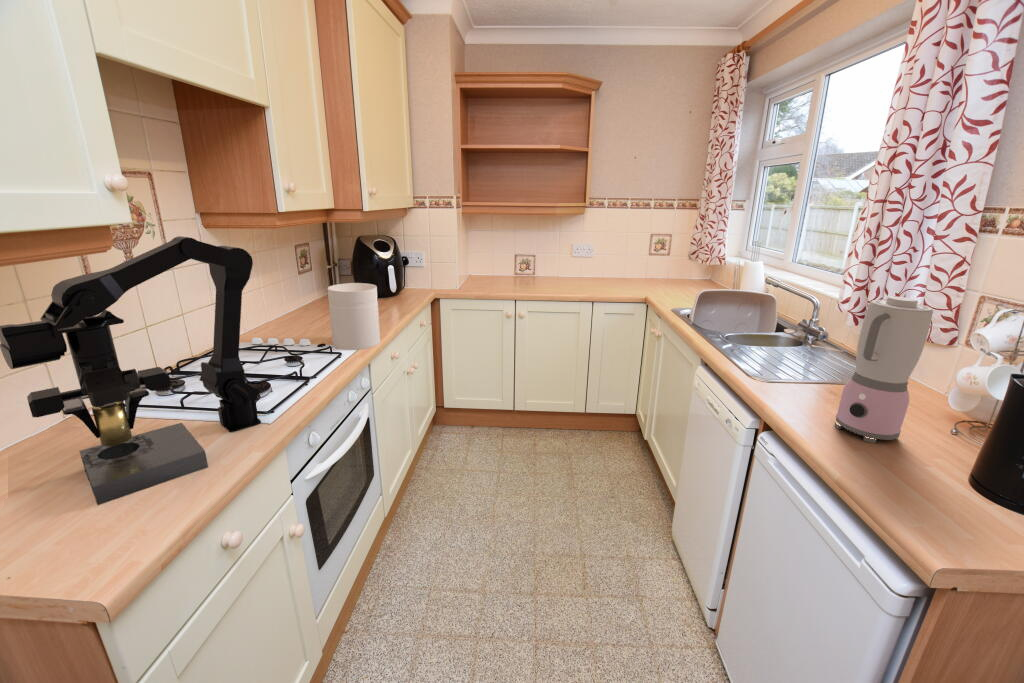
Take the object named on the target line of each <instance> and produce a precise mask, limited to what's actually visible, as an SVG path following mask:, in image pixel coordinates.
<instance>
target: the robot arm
mask: <svg viewBox="0 0 1024 683" xmlns="http://www.w3.org/2000/svg"><path fill="white" fill-rule="evenodd" d="M189 260H193V261H196V262H200V263H204V264H207V265H208V267H209V275H210V277H211V280H212V282H213V284H214V287H215V307H214V309H215V310H214V325H213V326H214V327H213V345H212V346H213V347H212V349H213V351H212V356H211V357H210V359H209V361H208V362H205V361H204V362H203V361H202V362H200V370H201V374H200V378H199V381H200V382H202V384H203V388H205V389H206V390H207V391H208V392H210V393H212V394H214V396H215V397H217V398H219V400H218V401H219V407H217V412H218V418H219V424H220V425H221V426H222V427H223V428H225V429H226V430H227V431H228V432H229V433H233V432H236V431H239V430H243V429H246V428H250V427H252V426H256V425H260V424H262V420H261V419H260V418H259V416H258V412H257V411H258V409H257V405H256V401H258V399H259V393H260V391H259V390H260V389H257V388H255V387H253V386H251V385H250V384H247V381H246V374H245V369H244V367H243V364H242V362H241V359H240V354H239V353H240V340H241V339H240V337H241V317H242V303H243V302H242V299H243V291H244V289H245V287H246V286H247V284H248V283H249V280H250V277H251V274H252V269H253V264H254V262H253V257H252V255H250V253H249V252H248V251H247V250H246V249H244V248H241V247H236V246H229V245H228V246H227V245H218V246H217V245H214V244H210V243H207V242H203V241H200V240H197V239H195V238H193V237H189V236H176V237H173V238H172V239H171V240H170V241H168V242H165V243H164V244H161V245H159V246H157V247H155V248H152V249H149V250H148V251H145V252H143V253H141V254H139V255H137V256H135V257H132V258H131V259H128V260H126V261H124V262H122V263H120V264H117V265H115V266H113V267H110V268H107V269H104V270H100V271H96V272H90V273H86V274H85V273H84V274H82V275H78V276H74V277H71V278H67V279H64V280H61V281H59V282H58V283H56V284H55V285H54V286H53V287H52V290H51V300H52V301H51V302H50V303H49V305H48V307H47V308H46V309H45V311H44V313H42V316H41V317H40V318H39V319H40V321H39V320H38V321H31V322H25V323H19V324H17V323H16V324H11V323H10V324H2V325H0V351H1V354H2V356H3V358H4V360H5V362H6V364H7V366H8V368H9V369H10V370H15V369H20V368H25V367H31V366H35V365H41V364H45V363H50V362H55V361H60V360H61V357H64V356H65V354H66V353H67V351H68V348H69V352H70V354H71V358H72V363H73V366H74V369H75V372H76V373H75V374H76V376H77V380H78V384H79V387H80V388H77V389H73V390H68V391H63V392H61V391H60V388H59V386H56V387H51V388H45V389H42V390H37V391H31V392H30V393H29V394H28V395H27V396H26V398H27V402H28V407H29V410H30V413H31V416H32V418H41V417H42V418H43V417H46V416H50V415H55V414H58V413H61V412H62V414H63V415H65V416H69V415H73V416H75V417H77V418H78V419H79V420H81V422H82V423H83V424H85V426H86V427H87V428H88V430H90V432H91V433H92V435H94V437H95V439H100V436H99V432H98V430H97V426H96V423H95V420H93V419H94V418H92V416H91V414H90V411H89V409H88V407H87V405H86V403H85V401H84V400H85V399H88V400H89V402H90V405H91V406H92V407H101V406H104V405H106V404H110V403H114V402H122V401H123V402H124V406H125V410H126V414H127V418H128V422H129V426H130V430H133V429H134V426H135V421H136V416H137V411H138V408H139V405H140V403H141V401H142V400H143V399H144V398H146V397H149V396H150V392H149V391H151V392H155V391H158V390H164V389H168V388H170V387H172V381H171V377H170V375H169V373H168V372H167V371H166V370H165V369H164V368H162V367H160V366H157V367H156V366H155V367H151V368H146V369H141V370H136V369H135V368H132V369H127V370H122V369H121V367H120V363H119V362H120V361H119V359H118V355H117V351H116V346H115V343H114V339H113V335H112V331H111V326H114V325H120V324H121V325H122V324H123V323H124V322H125V321H124V319H123V318H120V317H118V316H116V315H115V314H113V312H111V311H110V310H107V309H108V308H110V307H111V306H112V305H114V304H115V303H116V302H118V301H119V300H120V299H121V298H122V296H123V295H124V294H125V293H127V292H128V291H129V290H131V289H132V288H134V287H137V286H138V285H141V284H142V283H143V284H144V282H147V281H149V280H151V279H153V278H155V277H157V276H159V275H161V274H163V273H164V272H167V271H169V270H171V269H173V268H175V267H177V266H179V265H181V264H183V263H185V262H187V261H189ZM64 334H65V336H64ZM65 337H66V340H65ZM66 341H67V342H66ZM67 344H68V346H67Z"/></svg>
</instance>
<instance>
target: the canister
mask: <svg viewBox="0 0 1024 683" xmlns="http://www.w3.org/2000/svg"><path fill="white" fill-rule="evenodd" d="M327 296H328V298H327V299H328V302H329V303H328V309H329V317H330V330H331V339H332V346H333V347H334V348H335V349H340V350H347V351H357V350H365V349H369V348H374V347H376V346H378V345H380V343H381V336H380V335H381V332H380V315H379V303H378V286H377V285H376V284H372V283H368V282H367V283H363V282H349V283H347V282H346V283H345V282H344V283H338V284H332V285H329V286H328V287H327Z"/></svg>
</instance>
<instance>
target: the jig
mask: <svg viewBox="0 0 1024 683" xmlns="http://www.w3.org/2000/svg"><path fill="white" fill-rule="evenodd" d="M79 453H80V458H81V461H82V464H83V468H84V470H85V475H86V476H87V480H88V482H89V486H90V487H91V491H92V494H93V496H94V498H95V502H96V505H97V506H100V505H103V504H106V503H108V502H111V501H114V500H117V499H120V498H122V497H126V496H128V495H131V494H135V493H137V492H140V491H143V490H146V489H149V488H152V487H155V486H158V485H160V484H163V483H167V482H169V481H172V480H175V479H178V478H181V477H183V476H186V475H190V474H193V473H195V472H198V471H201V470H204V469H208V468H209V463H208V460H207V454H206V449H204V448H203V446H202V445H201V444H200V442H198V440H196V438H195V436H193V434H192V433H191V432H190V430H188V428H187V427H186V426H185V425H184V423H183V422H179V423H175V424H171V425H168V426H165V427H160V428H158V429H157V428H156V429H154V430H150V431H146V432H142V433H138V434H136V435H135V434H134V435H132V438H131V439H130V440H129V441H127V442H125V443H122V444H119V445H115V446H103V445H102V444H98V445H96V446H95V445H94V446H91V447H89V448H84V449H81V450H79Z"/></svg>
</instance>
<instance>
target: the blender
mask: <svg viewBox="0 0 1024 683" xmlns="http://www.w3.org/2000/svg"><path fill="white" fill-rule="evenodd" d="M933 314H934V310H933V308H932V307H930V306H927V305H924V304H919V302H918V299H915V298H911V297H904V296H890V295H889V296H887V298H886V299H874V300H871V301H869V303H868V304H867V308H866V313H865V315H864V316H863V317H864V318H863V321H862V324H861V328H860V331H859V332H860V333H859V335H858V340H857V346H856V357H855V370H854V372H853V375H851V377H850V378H849V379H848V380H847V381H846V383H845V385H844V386H843V388H842V392H841V395H840V400H839V404H838V408H837V413H836V414H835V415H836V416H835V418H836V421H837V422H838V423H839V424H840V425H841V426H843V427H844V428H846V429H847V430H846V429H845V430H846V431H848V430H850V431H849V432H851V431H852V432H851V433H853V432H854V433H853V434H856V433H857V435H859V436H862V435H863V436H862V437H863V442H866V443H872V444H876V442H877V440H883V441H886V440H890V441H891V440H896V439H898V438H899V437H900V435H901V431H902V430H901V429H902V426H903V424H904V420H905V418H906V414H907V411H908V407H909V404H910V393H909V390H908V381H909V378H910V377H911V375H912V373H913V371H914V370H915V369H916V366H917V364H918V362H919V360H920V357H921V355H922V354H923V350H924V348H925V344H926V341H927V338H928V335H929V330H930V328H931V322H932V318H933ZM834 426H835V428H836V429H837V430H841V429H842V428H843V427H841V426H839V425H837V424H836V422H835V421H834ZM844 428H843V429H844ZM864 436H866V437H869V438H866V437H864ZM870 438H874V439H870ZM875 439H877V440H875Z"/></svg>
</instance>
